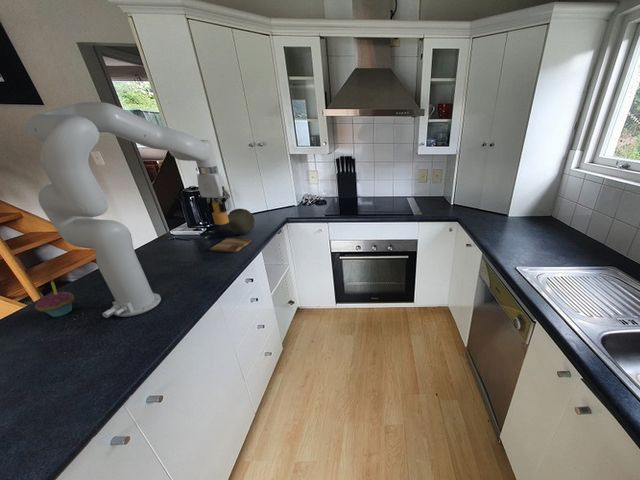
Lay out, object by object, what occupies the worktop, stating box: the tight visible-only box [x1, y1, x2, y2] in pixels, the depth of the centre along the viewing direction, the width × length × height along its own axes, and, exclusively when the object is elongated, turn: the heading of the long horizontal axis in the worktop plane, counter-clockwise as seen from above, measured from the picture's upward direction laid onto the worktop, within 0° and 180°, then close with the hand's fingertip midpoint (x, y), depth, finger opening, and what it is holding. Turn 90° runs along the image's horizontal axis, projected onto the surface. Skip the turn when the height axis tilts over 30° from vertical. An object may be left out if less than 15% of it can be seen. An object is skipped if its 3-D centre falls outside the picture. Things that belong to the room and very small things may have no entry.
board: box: [209, 237, 252, 253], centre depth 142 cm, size 14×14×1 cm
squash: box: [211, 198, 229, 226], centre depth 126 cm, size 6×6×11 cm
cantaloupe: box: [227, 208, 256, 236], centre depth 153 cm, size 14×14×15 cm
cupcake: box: [34, 279, 75, 318], centre depth 89 cm, size 9×8×12 cm
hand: (218, 211), depth 126 cm, fingers closed on squash, 4 cm apart
